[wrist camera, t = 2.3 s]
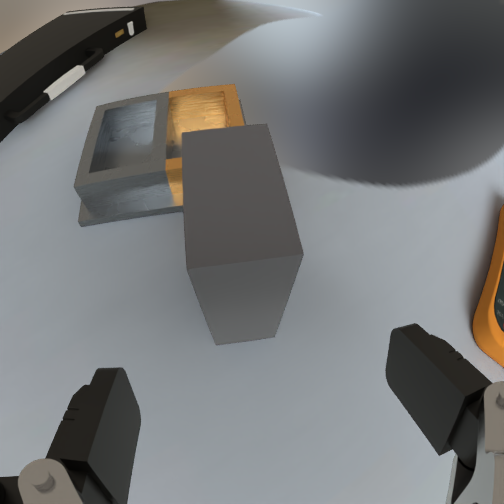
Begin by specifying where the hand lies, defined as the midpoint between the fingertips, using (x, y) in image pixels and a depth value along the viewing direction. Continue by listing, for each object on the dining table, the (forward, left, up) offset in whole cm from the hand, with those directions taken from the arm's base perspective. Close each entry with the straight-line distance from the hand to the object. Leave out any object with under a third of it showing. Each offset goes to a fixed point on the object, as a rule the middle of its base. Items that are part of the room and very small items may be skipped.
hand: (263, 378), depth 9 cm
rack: (+12, +19, -12) cm, 26 cm away
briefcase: (+11, +56, -13) cm, 59 cm away
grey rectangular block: (+5, +5, -12) cm, 14 cm away
